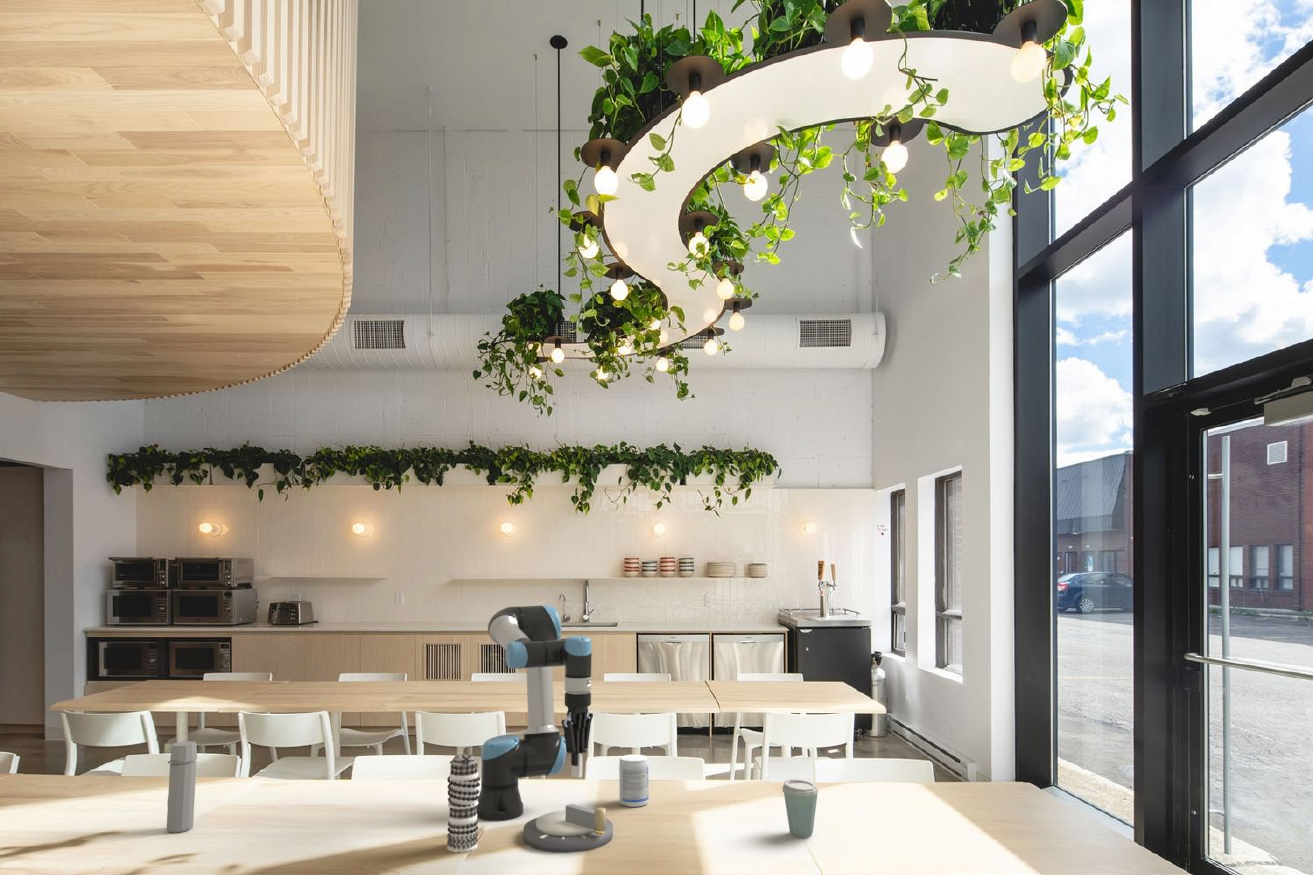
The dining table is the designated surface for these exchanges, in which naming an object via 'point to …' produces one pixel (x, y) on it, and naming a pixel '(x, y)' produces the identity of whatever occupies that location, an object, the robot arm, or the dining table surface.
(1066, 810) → the dining table surface
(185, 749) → the water bottle
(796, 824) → the disposable coffee cup
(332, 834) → the dining table surface
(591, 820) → the dial
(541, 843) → the dial base
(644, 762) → the supplement tub
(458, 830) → the decorative candle
